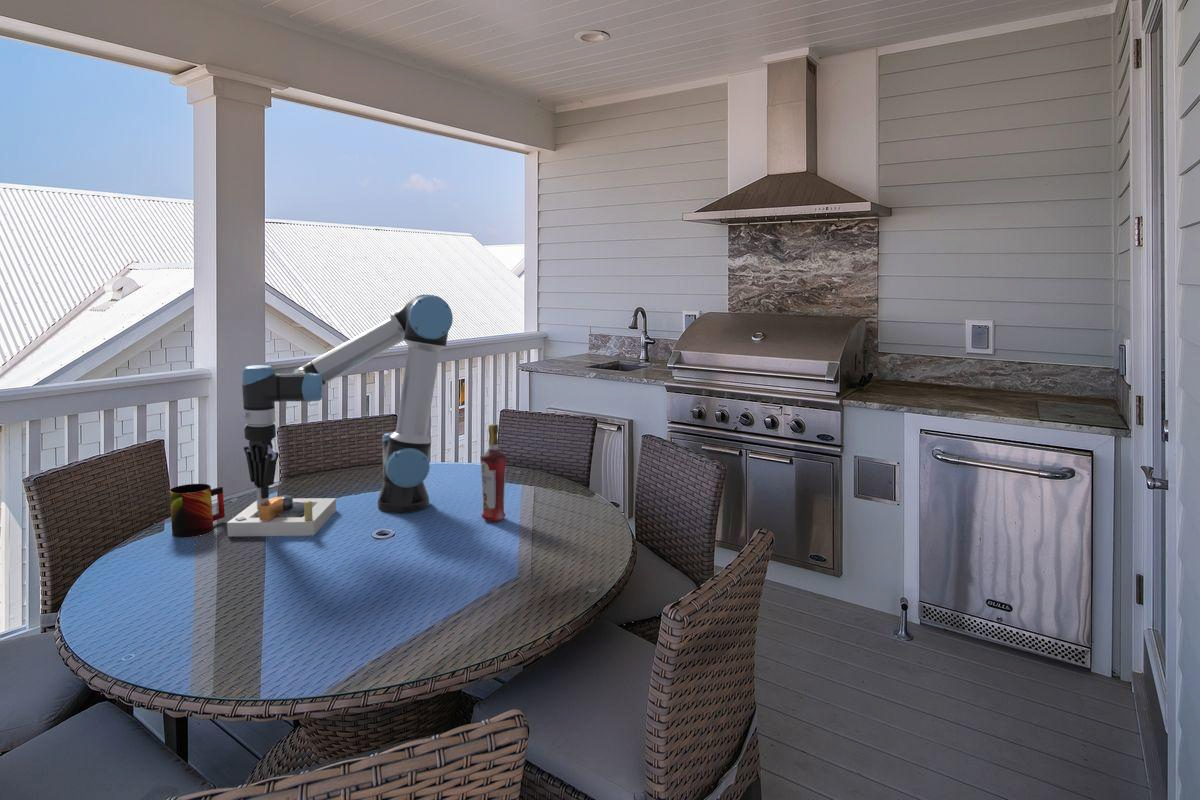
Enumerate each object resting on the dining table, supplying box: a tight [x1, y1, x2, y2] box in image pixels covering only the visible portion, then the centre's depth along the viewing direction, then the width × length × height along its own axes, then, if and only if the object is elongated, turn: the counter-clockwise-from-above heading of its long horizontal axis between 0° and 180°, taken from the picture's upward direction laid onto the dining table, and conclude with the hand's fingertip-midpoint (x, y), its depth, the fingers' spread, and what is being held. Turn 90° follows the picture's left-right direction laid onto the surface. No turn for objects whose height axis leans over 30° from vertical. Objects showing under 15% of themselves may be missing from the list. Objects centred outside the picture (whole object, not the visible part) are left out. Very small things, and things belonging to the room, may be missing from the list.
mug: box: [168, 483, 226, 539], centre depth 194 cm, size 10×14×12 cm
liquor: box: [480, 423, 507, 523], centre depth 205 cm, size 7×7×28 cm
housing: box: [226, 497, 337, 537], centre depth 201 cm, size 22×22×9 cm
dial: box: [259, 495, 304, 521], centre depth 198 cm, size 17×12×6 cm
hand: (263, 509), depth 194 cm, fingers closed
